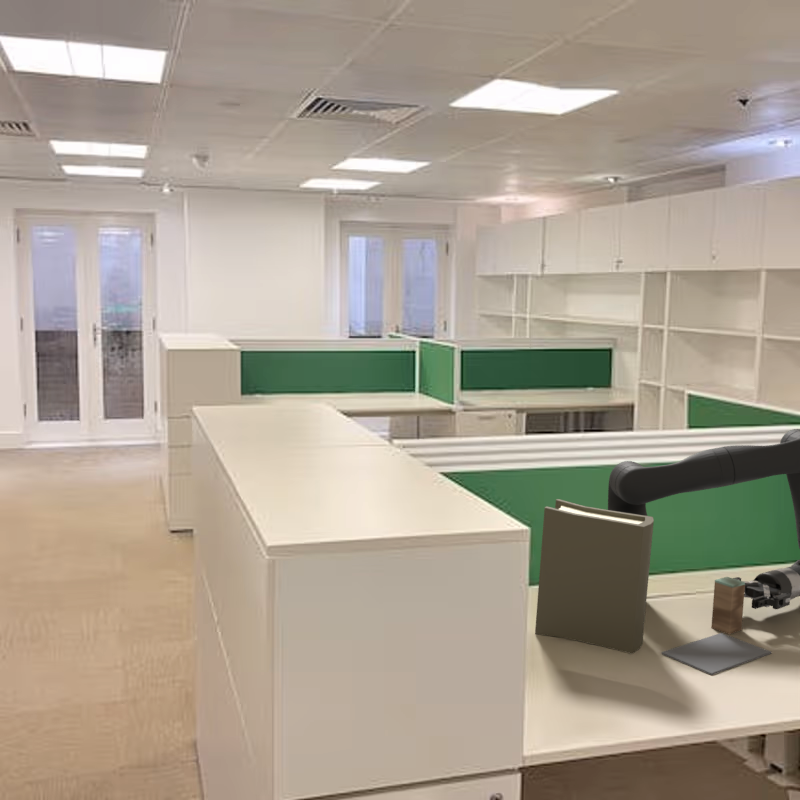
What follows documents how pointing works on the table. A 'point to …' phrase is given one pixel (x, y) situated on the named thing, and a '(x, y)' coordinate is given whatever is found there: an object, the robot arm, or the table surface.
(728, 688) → the table surface
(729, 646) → the rubber mat
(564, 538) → the book
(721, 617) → the walnut block
